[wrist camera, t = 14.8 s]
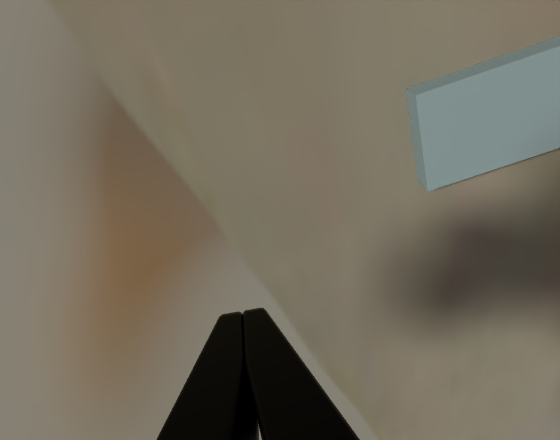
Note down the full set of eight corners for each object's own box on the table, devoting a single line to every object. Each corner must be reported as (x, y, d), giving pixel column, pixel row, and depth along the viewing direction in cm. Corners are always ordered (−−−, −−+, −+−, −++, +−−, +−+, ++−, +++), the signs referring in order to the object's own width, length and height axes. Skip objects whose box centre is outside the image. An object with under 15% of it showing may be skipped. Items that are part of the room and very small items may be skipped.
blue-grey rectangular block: (415, 95, 18) (597, 32, 18) (401, 86, 19) (570, 28, 19) (427, 191, 21) (586, 139, 20) (414, 177, 22) (563, 128, 22)
